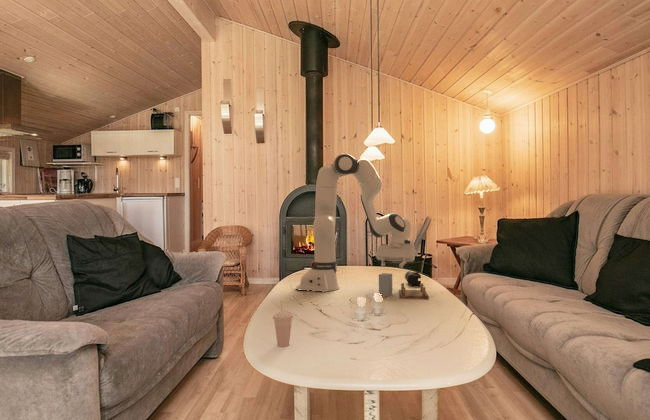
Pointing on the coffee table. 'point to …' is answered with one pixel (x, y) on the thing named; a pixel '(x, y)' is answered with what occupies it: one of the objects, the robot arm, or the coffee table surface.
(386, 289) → the slate block
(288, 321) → the smoothie
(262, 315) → the coffee table surface
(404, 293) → the stand
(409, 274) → the end cap
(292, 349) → the coffee table surface
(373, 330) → the coffee table surface
